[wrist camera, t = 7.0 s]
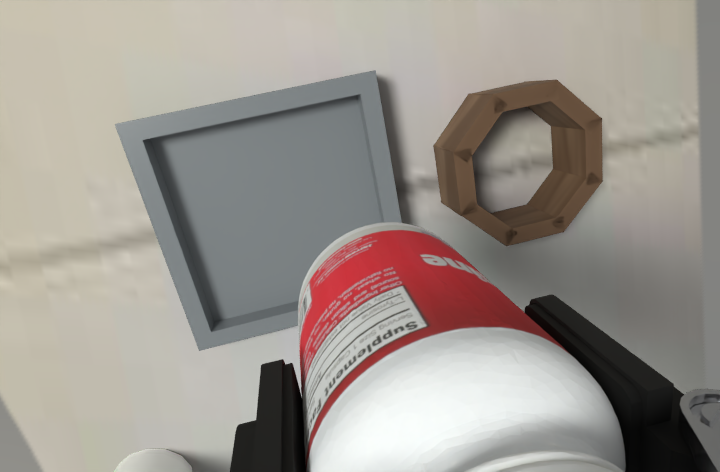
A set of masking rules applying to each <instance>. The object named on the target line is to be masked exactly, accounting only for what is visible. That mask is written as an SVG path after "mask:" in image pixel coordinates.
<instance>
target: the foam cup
mask: <svg viewBox="0 0 720 472" xmlns="http://www.w3.org/2000/svg"><path fill="white" fill-rule="evenodd" d="M113 472H192V467H191V465H190V464H189V463H188V462H187V461H186V460H185V459H184V458H183V457H182V456H181V455H179V454H177V453H174V452H172V451H169V450H167V449H149V448H147V449H144V450H141V451H138V452H135V453H132V454H130V455H129V456H127V457H126V458H125V459H124V460H123V461H122V462H121V463H119V464H118V466H117V468H116V469H115V470H114V471H113Z"/></svg>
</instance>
